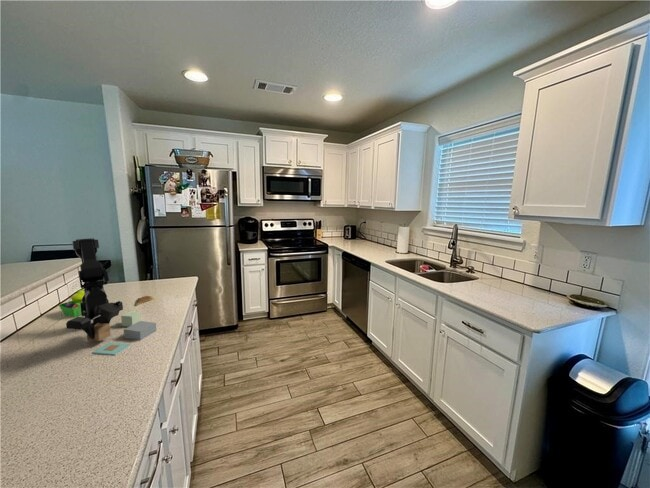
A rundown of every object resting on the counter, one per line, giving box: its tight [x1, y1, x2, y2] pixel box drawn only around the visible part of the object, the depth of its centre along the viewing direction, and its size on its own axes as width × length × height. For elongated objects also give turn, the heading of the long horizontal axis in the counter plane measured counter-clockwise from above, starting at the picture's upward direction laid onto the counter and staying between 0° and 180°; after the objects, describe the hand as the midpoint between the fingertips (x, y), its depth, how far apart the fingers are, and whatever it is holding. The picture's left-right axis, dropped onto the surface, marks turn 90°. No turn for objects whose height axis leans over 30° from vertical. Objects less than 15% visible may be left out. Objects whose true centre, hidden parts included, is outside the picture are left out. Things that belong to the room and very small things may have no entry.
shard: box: [135, 295, 155, 306], centre depth 148 cm, size 11×8×2 cm
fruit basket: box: [58, 289, 84, 318], centre depth 130 cm, size 11×9×11 cm
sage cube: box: [120, 310, 142, 327], centre depth 122 cm, size 5×5×5 cm
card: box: [92, 341, 131, 356], centre depth 102 cm, size 9×7×1 cm
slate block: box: [123, 320, 158, 341], centre depth 113 cm, size 8×8×4 cm
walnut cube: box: [86, 323, 112, 342], centre depth 106 cm, size 5×5×5 cm
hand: (99, 335), depth 106 cm, fingers closed on walnut cube, 5 cm apart
